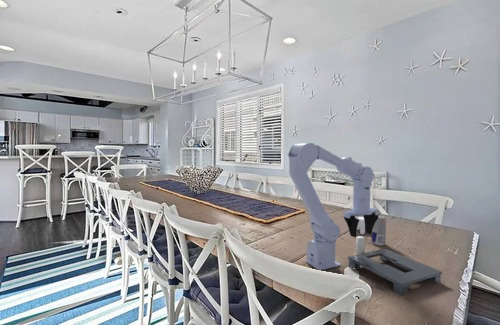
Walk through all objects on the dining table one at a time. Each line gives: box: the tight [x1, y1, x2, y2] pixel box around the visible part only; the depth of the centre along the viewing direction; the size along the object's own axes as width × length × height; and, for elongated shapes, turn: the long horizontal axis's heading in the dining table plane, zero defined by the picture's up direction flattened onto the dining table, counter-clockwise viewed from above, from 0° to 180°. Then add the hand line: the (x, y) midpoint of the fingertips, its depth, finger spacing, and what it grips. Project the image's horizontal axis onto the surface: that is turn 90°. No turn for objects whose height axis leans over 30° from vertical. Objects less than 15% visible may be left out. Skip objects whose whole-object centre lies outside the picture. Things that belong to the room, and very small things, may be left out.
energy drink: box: [371, 214, 387, 247], centre depth 111 cm, size 5×5×12 cm
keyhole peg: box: [352, 235, 366, 256], centre depth 96 cm, size 5×5×8 cm
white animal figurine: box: [355, 216, 366, 235], centre depth 128 cm, size 9×8×15 cm
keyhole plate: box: [347, 248, 443, 296], centre depth 84 cm, size 18×20×3 cm
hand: (360, 234), depth 96 cm, fingers open, 7 cm apart
